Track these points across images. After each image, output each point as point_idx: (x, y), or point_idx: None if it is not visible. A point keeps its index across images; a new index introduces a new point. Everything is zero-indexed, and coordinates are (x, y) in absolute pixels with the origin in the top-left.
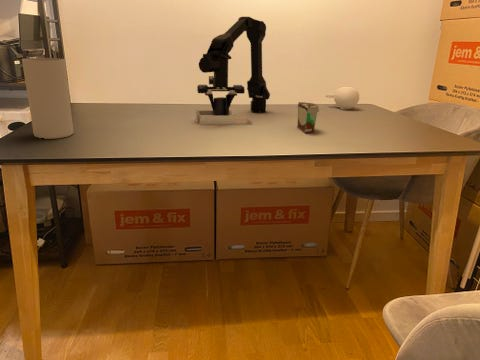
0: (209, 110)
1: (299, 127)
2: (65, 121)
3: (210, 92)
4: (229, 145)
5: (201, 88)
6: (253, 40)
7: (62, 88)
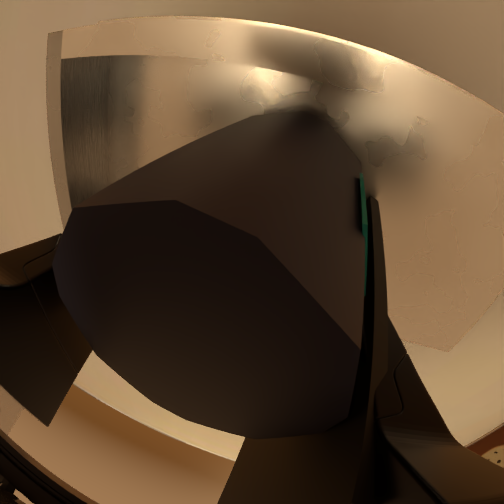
0: (158, 42)
1: (502, 430)
2: None
3: (5, 415)
4: (208, 434)
5: None
6: None
7: None
